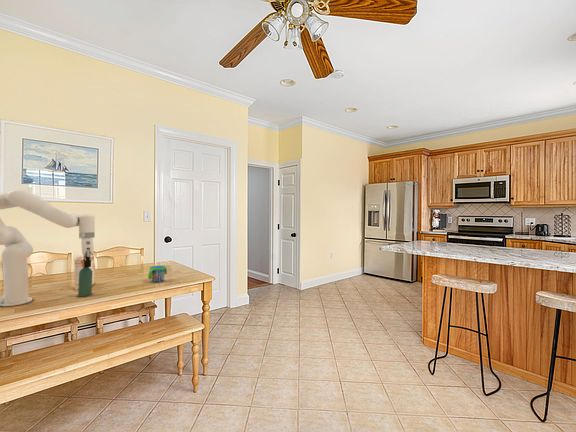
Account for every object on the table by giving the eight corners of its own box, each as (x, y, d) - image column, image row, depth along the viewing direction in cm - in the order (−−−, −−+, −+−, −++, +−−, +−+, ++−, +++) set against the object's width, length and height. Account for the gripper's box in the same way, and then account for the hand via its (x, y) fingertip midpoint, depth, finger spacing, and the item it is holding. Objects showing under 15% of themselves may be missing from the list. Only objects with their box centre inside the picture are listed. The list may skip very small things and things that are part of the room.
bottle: (81, 297, 160) (82, 264, 160) (76, 295, 164) (77, 262, 164) (93, 294, 166) (94, 262, 166) (88, 292, 169) (89, 261, 169)
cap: (86, 267, 163) (87, 261, 163) (80, 266, 163) (80, 261, 163) (91, 265, 167) (92, 260, 167) (85, 265, 167) (85, 260, 167)
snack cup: (161, 277, 207) (161, 264, 207) (172, 279, 203) (172, 265, 203) (142, 282, 193) (142, 268, 193) (154, 284, 189) (154, 269, 189)
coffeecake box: (82, 284, 188) (82, 255, 188) (94, 283, 191) (94, 254, 190) (74, 290, 174) (73, 259, 174) (87, 289, 177) (87, 258, 176)
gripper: (96, 236, 161) (96, 268, 162) (92, 234, 173) (92, 263, 174) (80, 237, 156) (80, 269, 156) (77, 234, 168) (77, 265, 169)
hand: (87, 266), depth 165 cm, fingers closed on cap, 3 cm apart
